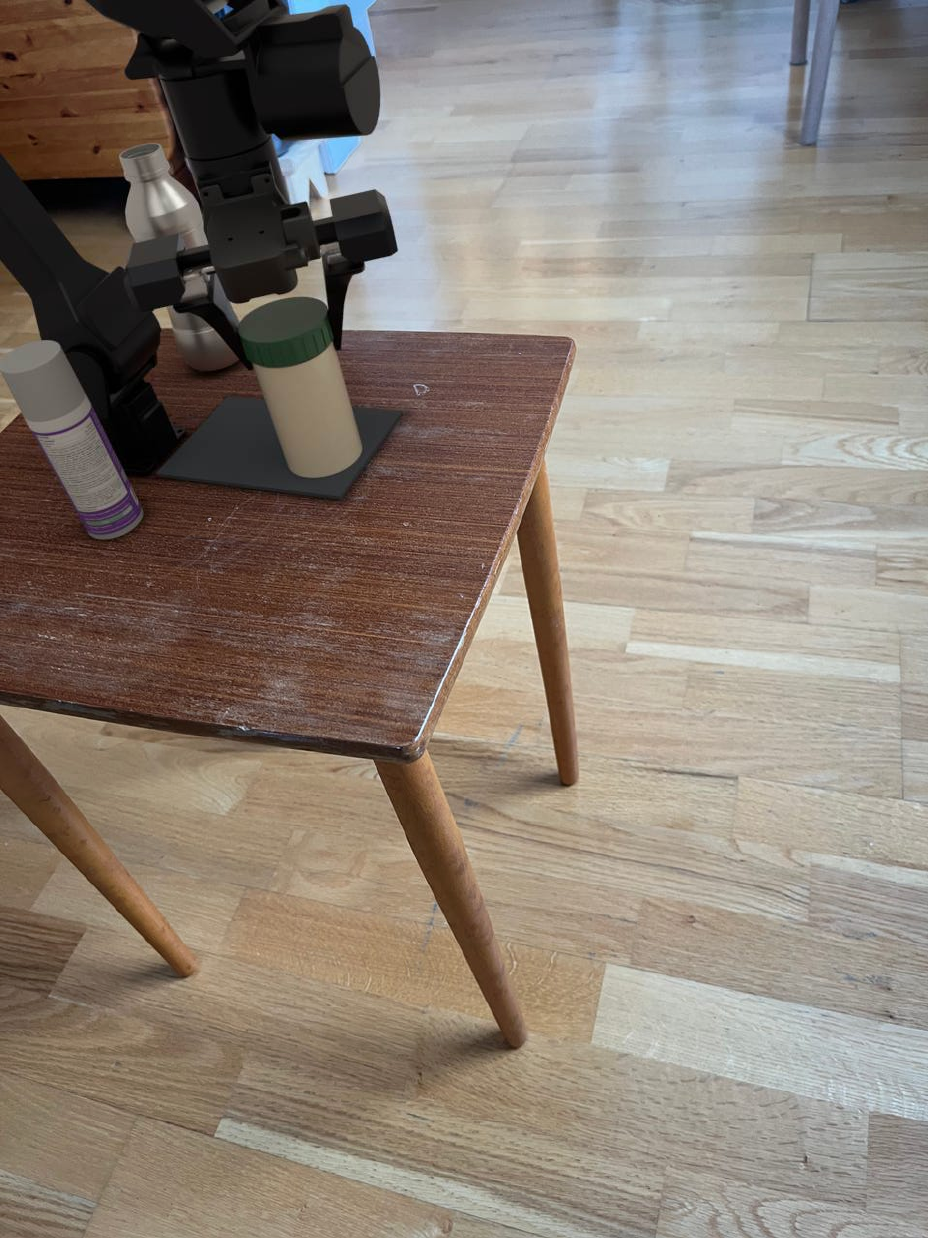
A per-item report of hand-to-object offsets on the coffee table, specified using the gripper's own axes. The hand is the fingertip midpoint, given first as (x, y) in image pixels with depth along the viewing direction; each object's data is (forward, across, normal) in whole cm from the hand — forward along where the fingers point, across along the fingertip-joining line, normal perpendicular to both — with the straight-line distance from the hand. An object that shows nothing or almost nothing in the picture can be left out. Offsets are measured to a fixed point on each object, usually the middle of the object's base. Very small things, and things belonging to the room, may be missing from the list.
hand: (294, 358), depth 73 cm
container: (+10, -18, -2) cm, 20 cm away
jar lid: (-3, 0, 0) cm, 3 cm away
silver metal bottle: (+10, -9, +21) cm, 25 cm away
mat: (+9, -4, +4) cm, 11 cm away
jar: (+9, 0, 0) cm, 9 cm away
